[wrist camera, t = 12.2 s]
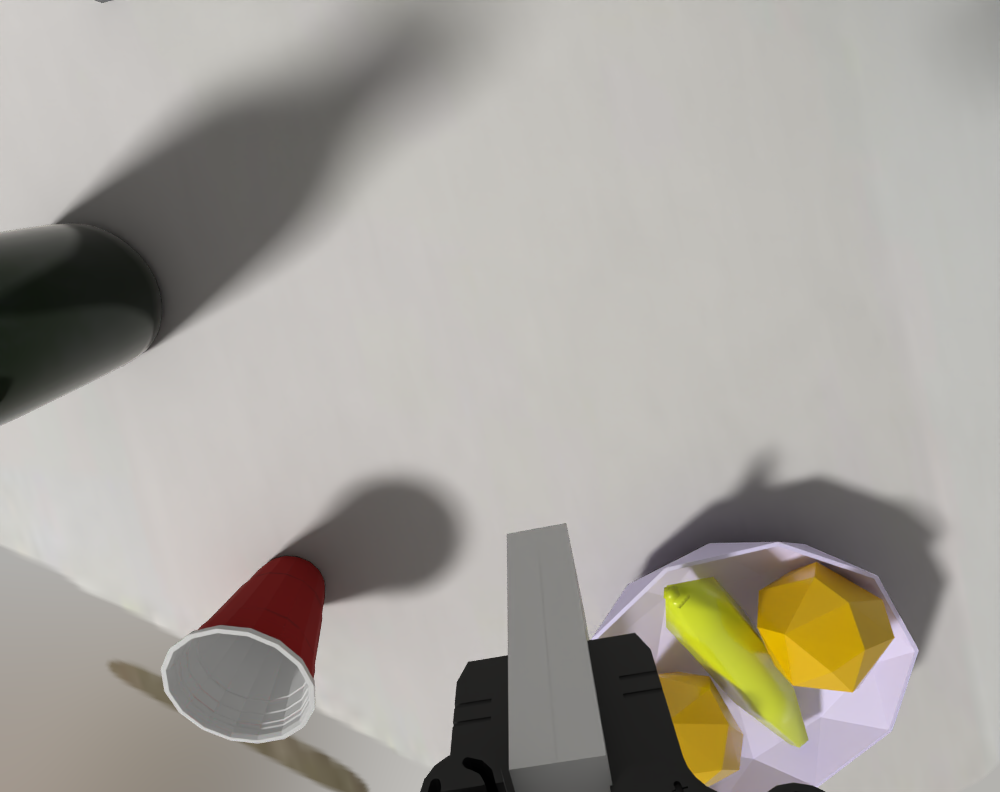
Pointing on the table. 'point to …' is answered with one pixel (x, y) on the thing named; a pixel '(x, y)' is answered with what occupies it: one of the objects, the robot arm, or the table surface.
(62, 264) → the green wine bottle
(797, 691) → the fruit bowl
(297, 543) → the table surface
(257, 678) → the plastic cup
